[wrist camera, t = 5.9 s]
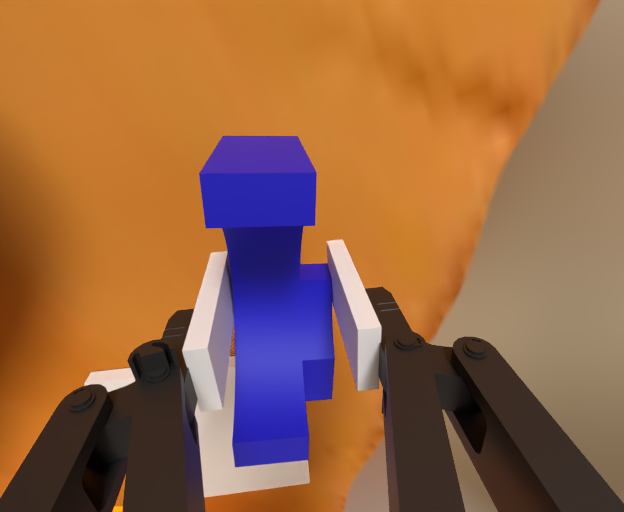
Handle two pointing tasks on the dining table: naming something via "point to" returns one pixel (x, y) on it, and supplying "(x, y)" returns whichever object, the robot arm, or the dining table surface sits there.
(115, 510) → the orange juice
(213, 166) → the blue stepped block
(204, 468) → the white pad
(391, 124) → the dining table surface
